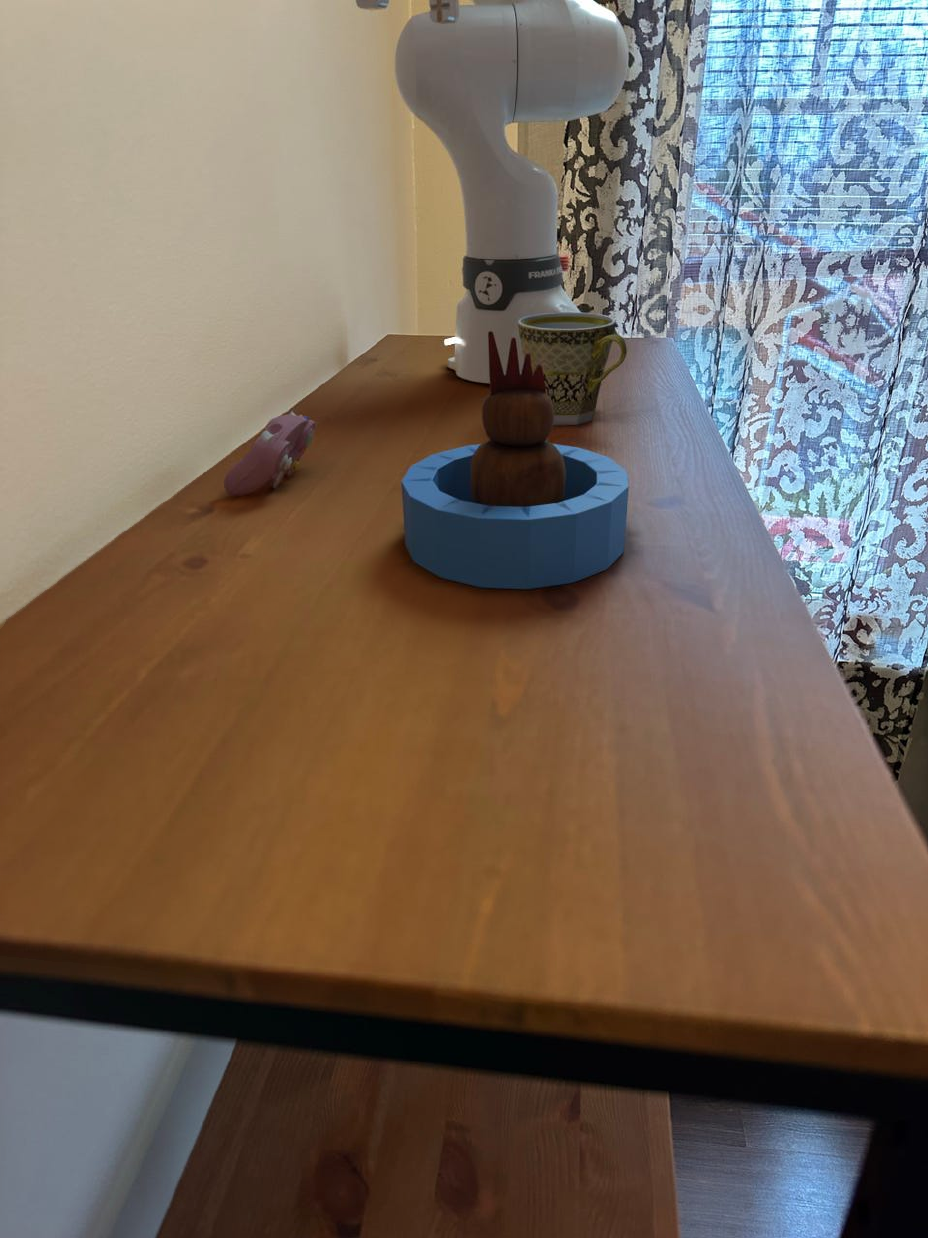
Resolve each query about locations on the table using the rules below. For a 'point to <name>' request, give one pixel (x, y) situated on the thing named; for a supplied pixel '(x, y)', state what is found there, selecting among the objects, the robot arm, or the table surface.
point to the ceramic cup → (571, 359)
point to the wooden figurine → (516, 438)
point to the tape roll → (514, 524)
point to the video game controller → (271, 455)
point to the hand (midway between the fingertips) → (410, 16)
